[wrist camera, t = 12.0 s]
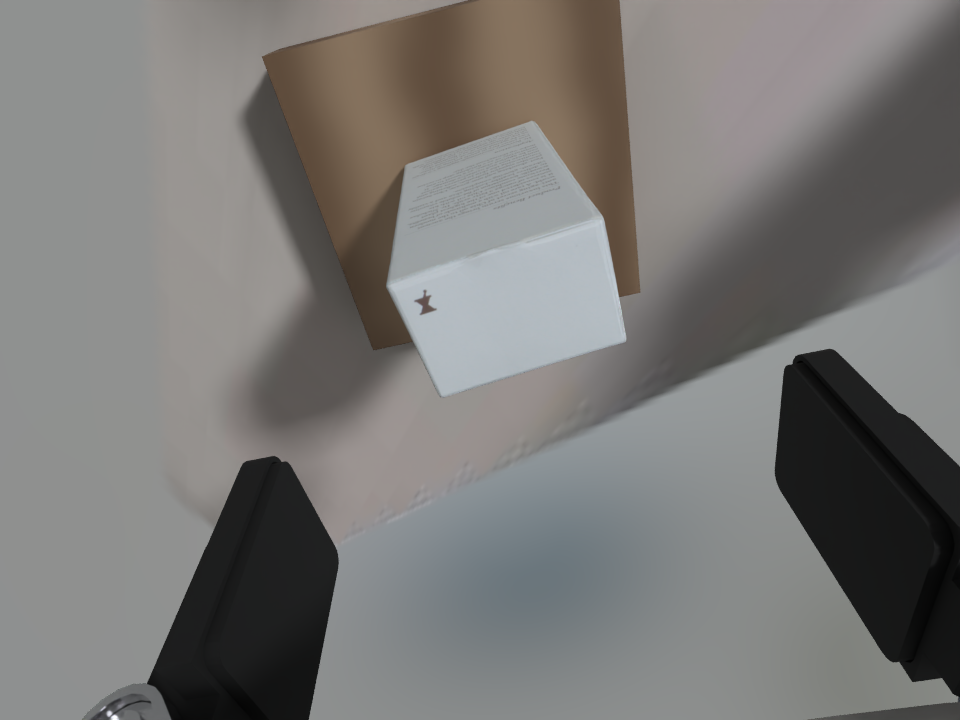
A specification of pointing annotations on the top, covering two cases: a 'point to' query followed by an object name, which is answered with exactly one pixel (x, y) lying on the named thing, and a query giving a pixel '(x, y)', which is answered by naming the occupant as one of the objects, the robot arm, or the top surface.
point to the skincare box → (500, 262)
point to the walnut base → (454, 119)
